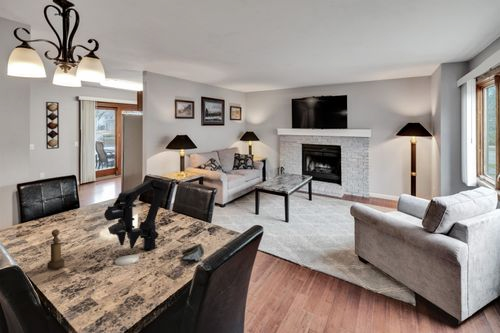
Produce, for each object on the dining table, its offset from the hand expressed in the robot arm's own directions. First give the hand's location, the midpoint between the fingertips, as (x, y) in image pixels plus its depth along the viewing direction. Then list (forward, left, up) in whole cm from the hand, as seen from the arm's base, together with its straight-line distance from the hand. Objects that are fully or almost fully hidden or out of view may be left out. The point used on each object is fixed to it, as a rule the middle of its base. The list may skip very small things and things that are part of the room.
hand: (126, 246), depth 128 cm
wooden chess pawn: (-23, -23, -8) cm, 33 cm away
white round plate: (0, 0, -7) cm, 7 cm away
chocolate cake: (+23, +19, -9) cm, 31 cm away
